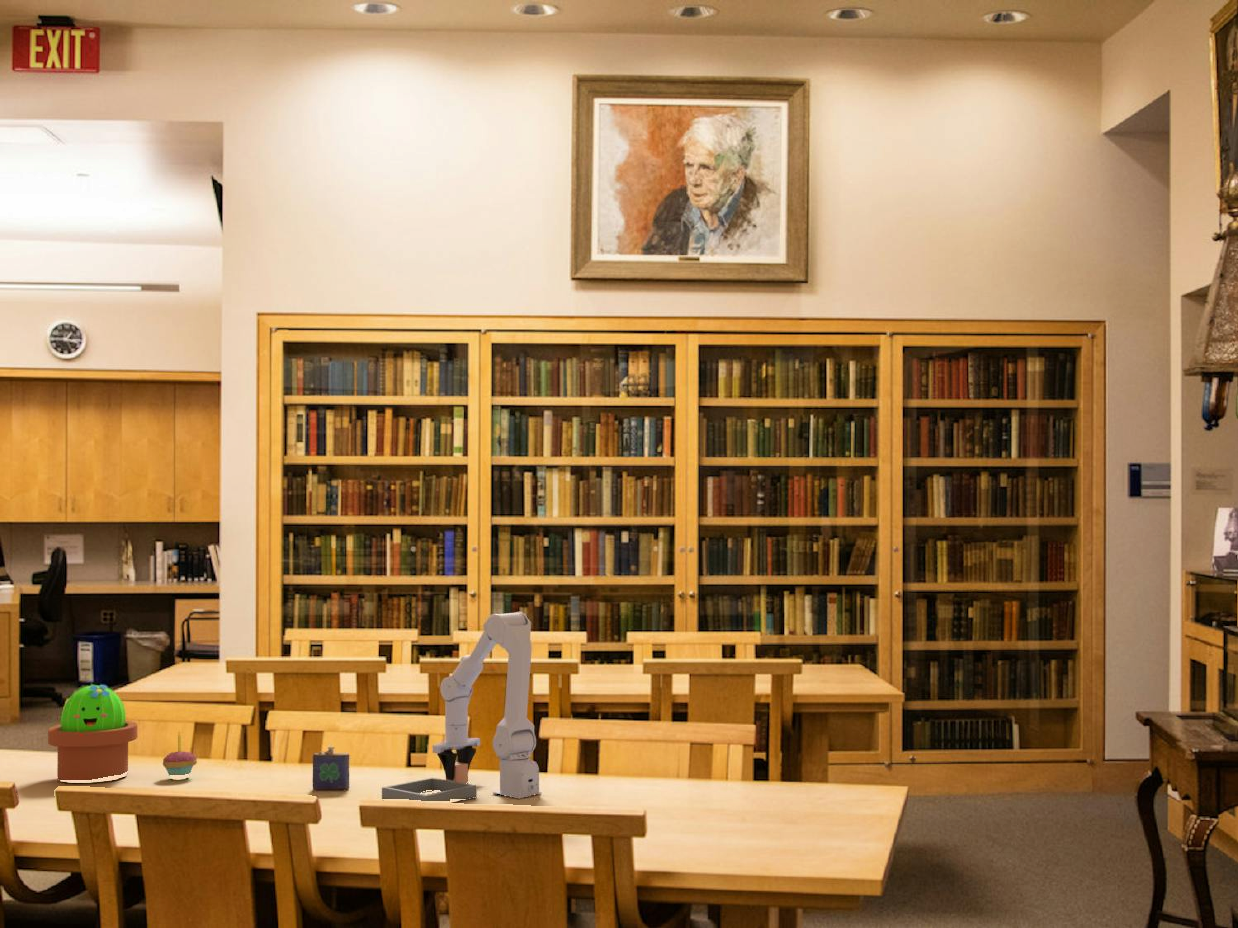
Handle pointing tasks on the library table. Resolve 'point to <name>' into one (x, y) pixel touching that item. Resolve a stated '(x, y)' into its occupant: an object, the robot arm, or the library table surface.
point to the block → (460, 772)
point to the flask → (330, 771)
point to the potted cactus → (92, 735)
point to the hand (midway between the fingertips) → (456, 777)
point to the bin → (416, 787)
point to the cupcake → (179, 761)
